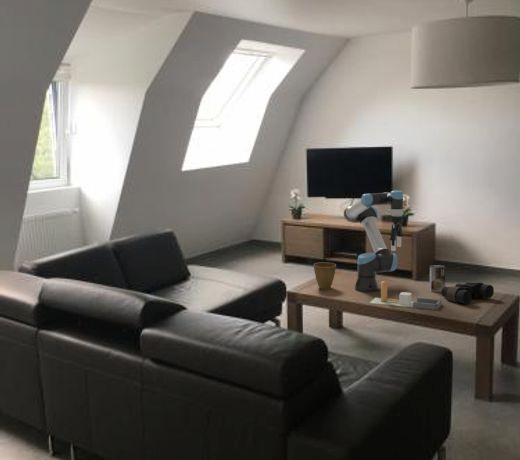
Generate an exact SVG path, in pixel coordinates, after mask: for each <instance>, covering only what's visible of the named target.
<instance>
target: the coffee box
mask: <svg viewBox="0 0 520 460" xmlns="http://www.w3.org/2000/svg"><path fill="white" fill-rule="evenodd" d="M443 287H446V266H445V265H443V264H438V265H436V264H435V265H434V264H433V265H432V264H431V265H429V288H428V289H429V291H430V292H431V293H432V292H433V293H435V292H436V293H437V292H440V293H441V290H442V288H443Z"/></svg>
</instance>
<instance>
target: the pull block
mask: <svg viewBox="0 0 520 460" xmlns="http://www.w3.org/2000/svg"><path fill="white" fill-rule="evenodd" d="M412 295H413V293H412V292H407V291H405V292H404V291H401V292H400V293H399V296H398V297H399V299H395V298H394V299H393V298H388V281H386V280H385V281H380V298H381V302H387V301H395V302H399V304H401V305H410V304H411V303H412V302H413V301H412V299H413V297H412Z"/></svg>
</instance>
